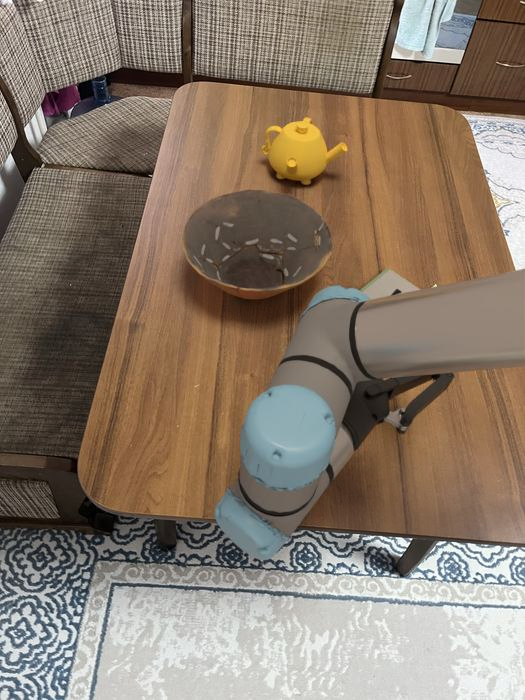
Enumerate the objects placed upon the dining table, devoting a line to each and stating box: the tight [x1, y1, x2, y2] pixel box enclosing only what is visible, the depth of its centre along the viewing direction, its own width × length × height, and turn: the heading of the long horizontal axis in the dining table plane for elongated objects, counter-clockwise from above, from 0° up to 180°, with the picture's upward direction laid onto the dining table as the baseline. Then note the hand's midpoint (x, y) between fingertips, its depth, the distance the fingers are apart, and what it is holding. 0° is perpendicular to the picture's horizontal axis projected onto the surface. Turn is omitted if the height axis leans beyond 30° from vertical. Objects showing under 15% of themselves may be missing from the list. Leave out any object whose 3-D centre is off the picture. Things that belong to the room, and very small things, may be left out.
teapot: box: [261, 116, 348, 186], centre depth 112 cm, size 14×14×11 cm
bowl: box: [181, 189, 333, 300], centre depth 93 cm, size 25×25×10 cm
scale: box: [358, 267, 422, 300], centre depth 92 cm, size 14×13×3 cm
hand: (424, 313), depth 70 cm, fingers closed on cup, 8 cm apart
